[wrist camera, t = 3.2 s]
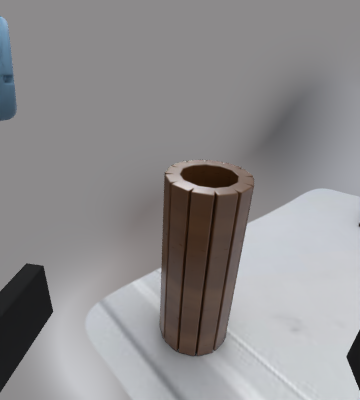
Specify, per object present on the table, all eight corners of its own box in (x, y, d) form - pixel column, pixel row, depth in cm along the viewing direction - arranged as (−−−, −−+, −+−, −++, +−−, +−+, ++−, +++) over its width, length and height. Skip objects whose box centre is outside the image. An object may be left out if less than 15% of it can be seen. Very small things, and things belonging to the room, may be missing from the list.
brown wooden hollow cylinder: (146, 325, 25) (146, 172, 18) (189, 290, 29) (202, 154, 22) (197, 370, 22) (219, 205, 15) (238, 325, 25) (270, 177, 19)
